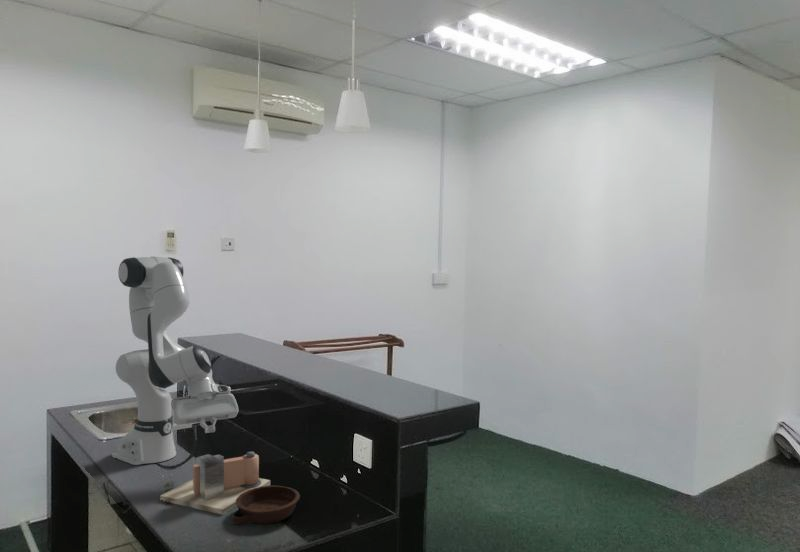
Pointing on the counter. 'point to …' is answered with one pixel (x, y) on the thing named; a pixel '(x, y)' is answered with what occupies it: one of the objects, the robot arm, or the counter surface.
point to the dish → (265, 504)
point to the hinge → (177, 427)
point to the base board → (216, 505)
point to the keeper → (211, 476)
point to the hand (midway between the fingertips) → (210, 431)
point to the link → (234, 471)
